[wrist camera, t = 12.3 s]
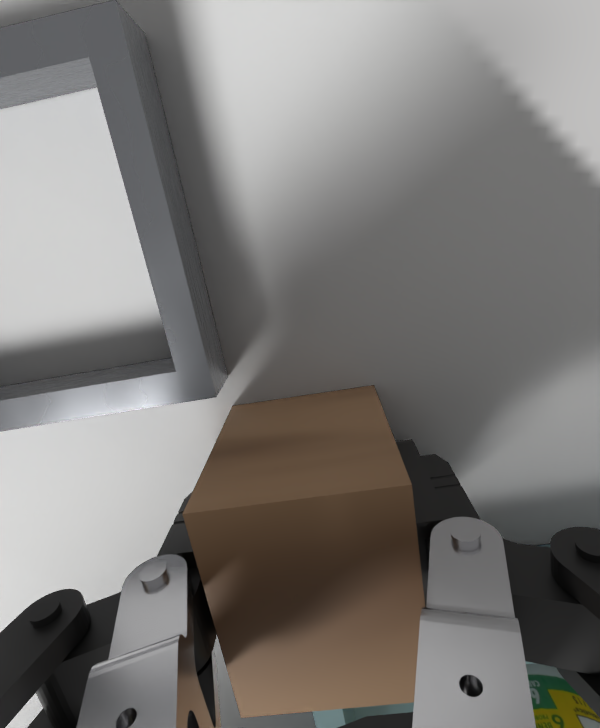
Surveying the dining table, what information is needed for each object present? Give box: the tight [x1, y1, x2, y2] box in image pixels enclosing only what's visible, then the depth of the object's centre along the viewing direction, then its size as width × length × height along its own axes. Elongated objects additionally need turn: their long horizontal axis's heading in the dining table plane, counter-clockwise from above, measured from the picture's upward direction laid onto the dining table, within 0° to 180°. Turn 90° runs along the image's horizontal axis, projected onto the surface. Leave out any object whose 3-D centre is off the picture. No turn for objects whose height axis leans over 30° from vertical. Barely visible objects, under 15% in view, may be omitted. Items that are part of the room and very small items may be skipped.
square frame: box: [0, 0, 228, 431], centre depth 11 cm, size 8×8×2 cm
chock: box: [183, 385, 425, 718], centre depth 11 cm, size 5×4×5 cm
